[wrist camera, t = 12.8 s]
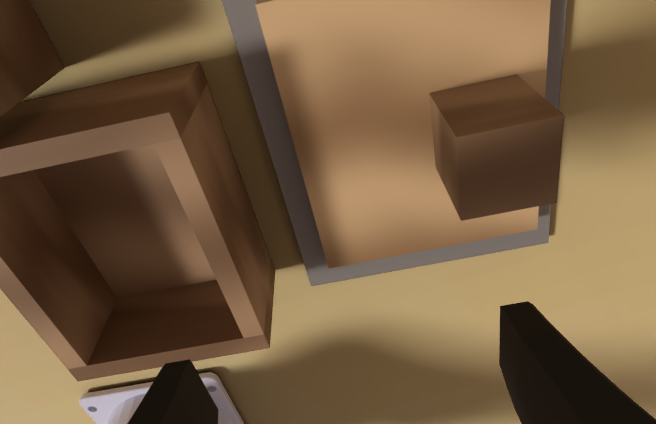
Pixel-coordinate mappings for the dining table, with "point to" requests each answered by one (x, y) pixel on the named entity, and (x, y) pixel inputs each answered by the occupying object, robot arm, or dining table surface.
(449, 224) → the lid
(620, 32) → the dining table surface
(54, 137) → the brown wooden open box
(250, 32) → the mat
